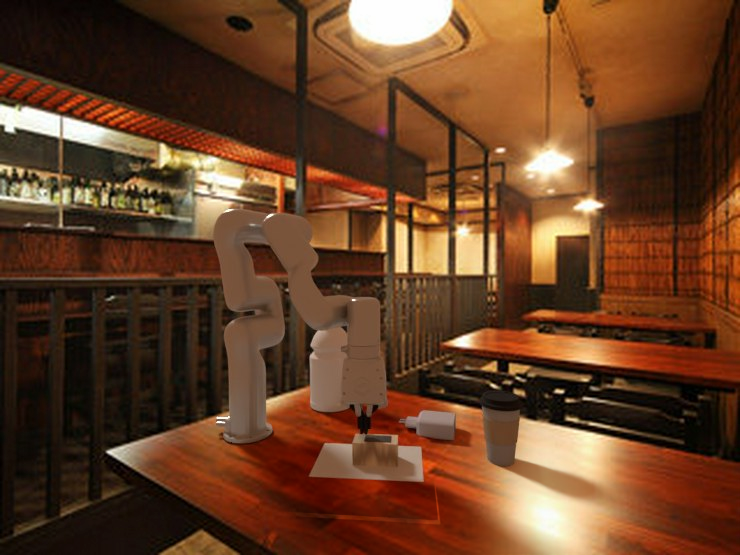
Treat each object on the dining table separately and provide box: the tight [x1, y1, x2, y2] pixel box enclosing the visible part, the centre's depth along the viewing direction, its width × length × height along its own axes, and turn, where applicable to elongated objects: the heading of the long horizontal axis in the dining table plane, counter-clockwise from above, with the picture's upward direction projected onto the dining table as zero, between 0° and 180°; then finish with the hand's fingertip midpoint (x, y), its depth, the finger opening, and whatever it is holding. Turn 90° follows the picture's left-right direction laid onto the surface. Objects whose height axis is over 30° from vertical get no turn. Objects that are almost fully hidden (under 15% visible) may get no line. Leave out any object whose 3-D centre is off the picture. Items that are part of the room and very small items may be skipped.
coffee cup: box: [478, 389, 523, 467], centre depth 91 cm, size 9×9×15 cm
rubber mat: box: [308, 442, 425, 483], centre depth 90 cm, size 24×16×1 cm, turn 84°
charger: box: [398, 409, 457, 442], centre depth 107 cm, size 5×9×15 cm
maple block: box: [351, 433, 399, 467], centre depth 90 cm, size 5×5×10 cm
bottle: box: [309, 327, 350, 413], centre depth 128 cm, size 14×14×28 cm
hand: (364, 431), depth 90 cm, fingers closed
